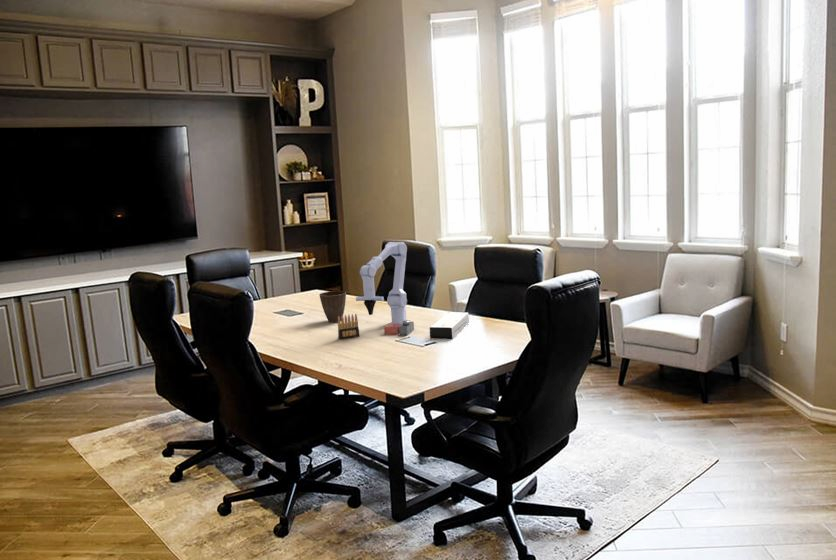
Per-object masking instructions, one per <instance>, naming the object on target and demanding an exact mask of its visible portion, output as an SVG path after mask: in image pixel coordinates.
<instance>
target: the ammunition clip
mask: <svg viewBox="0 0 836 560" xmlns="http://www.w3.org/2000/svg"><path fill="white" fill-rule="evenodd" d="M337 335H338V336H337V337H338V340H347V339H353V338H360V336H361V335H360V329H359V321H358V314H357V313H355V314H354V315H353V313H352V314H351V316H350V314H348V316H347V315H346V314H345V315H343V316H342V317H341V321H340V317H339V316H338V322H337Z"/></svg>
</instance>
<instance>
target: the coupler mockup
mask: <svg viewBox="0 0 836 560" xmlns="http://www.w3.org/2000/svg"><path fill="white" fill-rule="evenodd" d="M402 322H403V324H402V325H401V326H400V327H399V328H398V329H399V336H403V337H404V336H409V335H410V334H411V333H413V331H414V330H415V323H414V321H411V320H408V319H406V320H405V321H402Z"/></svg>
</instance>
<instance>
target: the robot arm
mask: <svg viewBox="0 0 836 560" xmlns="http://www.w3.org/2000/svg"><path fill="white" fill-rule="evenodd" d="M407 252H408V246H407V245H406V243H405V242H402V241H398V242H396V241H393V242H392V241H389V242H387V243H386V244H385V246H384V249H383V250H382V251H380V253H379V254H378V255H377V256H372V257H371V259H370V260H369V261H368V262H367V263H366V265H362V266H361V267H360V270H359V275H360V277H361V279H362V289H363V296H356V297H355V301H356V302H362V301H363V304H364V306H365V307H366V310H367V313H368V315H369V316H372V315H374V308H375V306H376V302H379V301H380V302H383V301H385V299H384V296H379V295H376V290H375V289H376V288H375V275H376V274H377V271H378V269H379V268H380V267H381V266H382V265H383V264H384V263H383V261H385V260H386V259H387V258H388V257H389V256H391V257H393V258H394V260H395V266H394V274H393V284H392V285H393V286H392V289H391V290H390V291H389V292H388V296H387V300H386V304H387V305H388V306H389V308H390V317H391V322H390V323H397V324H403V322H402V321H405V320H407V310H406V306H407V304H408V299H407V293H406V291H404V283H405V282H404V281H405V271H406V262H407Z"/></svg>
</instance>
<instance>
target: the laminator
mask: <svg viewBox="0 0 836 560" xmlns="http://www.w3.org/2000/svg"><path fill="white" fill-rule="evenodd" d="M469 318H470V315H469V312H465V311H464V312H459V311H458V312H455V311H454V312H453V311H449V312H446V314H444V315H443V316H442V317H441V318H440V319H438V320H437V321H436V322H435V323H434V324H432V325H431V326H430V327H429V338H430V339H431V340H432V339H440V340H442V339H443V340H453V339H454V338H456V336H458V335H459V334H460V333H461V332H462V331H463V330H464V327H465V326H466V325H467V324H468V323H469V321H470V320H469ZM467 326H468V325H467ZM467 326H466V327H467Z"/></svg>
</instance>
